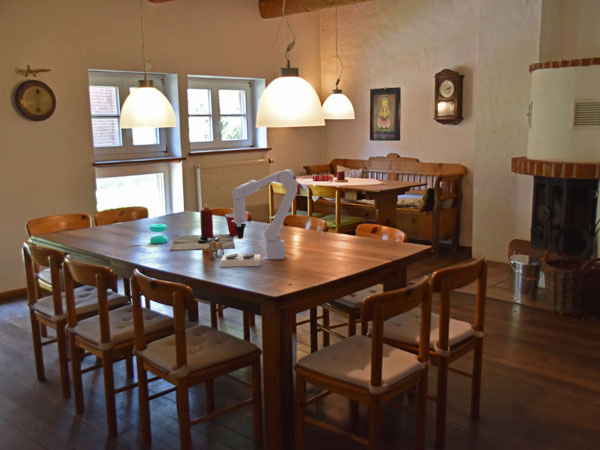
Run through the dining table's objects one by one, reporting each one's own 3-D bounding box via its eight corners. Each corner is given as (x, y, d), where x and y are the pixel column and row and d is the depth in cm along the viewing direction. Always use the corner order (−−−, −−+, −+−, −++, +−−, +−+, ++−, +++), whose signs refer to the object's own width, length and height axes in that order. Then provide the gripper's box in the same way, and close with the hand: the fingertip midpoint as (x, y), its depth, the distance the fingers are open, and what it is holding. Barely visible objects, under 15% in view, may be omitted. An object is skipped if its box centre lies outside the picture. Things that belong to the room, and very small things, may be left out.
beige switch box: (260, 260, 275) (260, 253, 274) (259, 265, 264) (259, 259, 263) (223, 261, 274) (223, 254, 274) (220, 266, 263) (220, 260, 263)
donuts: (170, 224, 323) (159, 227, 314) (172, 241, 324) (160, 244, 316) (157, 223, 327) (145, 225, 319) (158, 240, 329) (146, 243, 320)
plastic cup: (242, 235, 336) (241, 215, 334) (224, 236, 336) (223, 216, 334) (244, 232, 347) (244, 213, 345) (227, 232, 347) (226, 213, 345)
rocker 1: (237, 256, 268) (237, 253, 268) (237, 258, 264) (236, 255, 264) (227, 258, 268) (226, 255, 268) (226, 260, 264) (225, 257, 264)
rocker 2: (254, 256, 268) (254, 252, 268) (254, 258, 265) (253, 254, 264) (244, 257, 269) (243, 254, 268) (243, 259, 265) (243, 256, 264)
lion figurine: (218, 259, 278) (217, 241, 276) (207, 259, 278) (206, 241, 277) (225, 252, 292) (224, 235, 291) (215, 252, 293) (214, 235, 291)
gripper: (232, 209, 285) (233, 235, 287) (229, 213, 271) (231, 241, 273) (246, 209, 285) (247, 235, 287) (244, 213, 271) (245, 241, 273)
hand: (240, 238), depth 280 cm, fingers closed
